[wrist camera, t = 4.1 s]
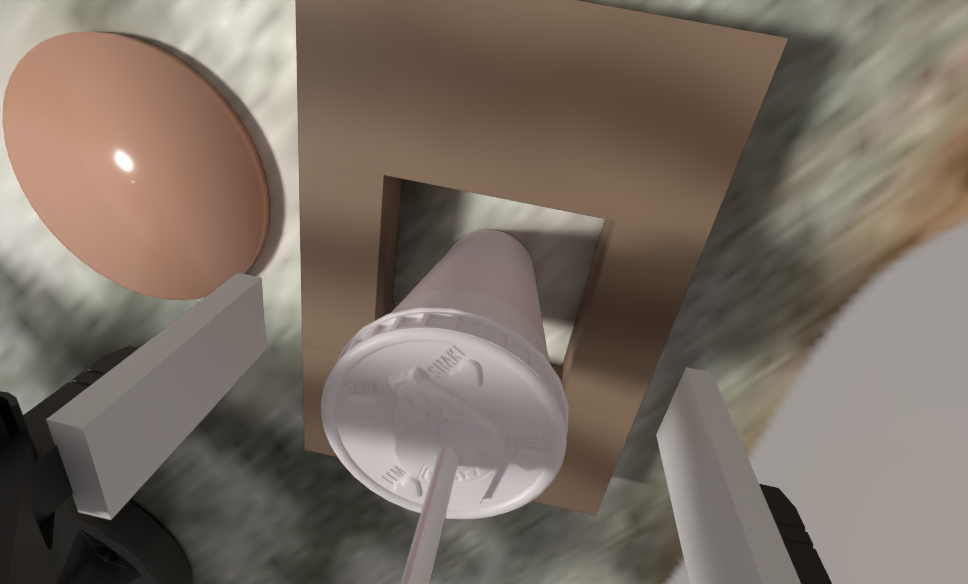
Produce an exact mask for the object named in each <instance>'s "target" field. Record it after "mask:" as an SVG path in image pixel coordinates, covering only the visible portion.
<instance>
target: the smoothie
mask: <svg viewBox="0 0 968 584" xmlns="http://www.w3.org/2000/svg"><path fill="white" fill-rule="evenodd" d="M568 409H569V406H568V402H567V399H566V396H565V392H564V389H563V386H562V383H561V379H560V378H559V376H558V375H557V373H556V372H555V371H554V369H553V368H552V366H551V365H550V362H549V357H548V353H547V347H546V341H545V334H544V328H543V322H542V316H541V310H540V304H539V298H538V292H537V285H536V279H535V273H534V267H533V262H532V259H531V256H530V254H529V253H528V251H527V249H526V248H525V247H524V246H523V245H522V244H521V243H520V242H519V241H518V240H517V239H516V238H514V237H512V236H511V235H509V234H507V233H504V232H501V231H497V230H478V231H474V232H471V233H469V234H467V235H465V236H463V237H462V238H460V239H459V240H458V241H457V242H456V243H455V244H454V245H453V246H452V247H451V248H450V250H449V251H448V252H447V253H446V254H445V255H444V256H443V257H442V258H441V259H440V260H439V261H438V263H437V264H436V265H435V266H434V267H433V268H432V269H431V270H430V271H429V272H428V273H427V274H426V276H425V277H424V278H423V279H422V280H421V281H420V282H419V283H418V284H417V285H416V286H415V287H414V289H413V290H412V291H411V292H410V293H409V294H408V295H407V296H406V297H405V298H404V299H403V300H402V302H401V303H400V304H399V305H398V306H397V307H396V308H395V309H394V310H393V311H392V312H391V313H390V314H387V315H385V316H383V317H381V318H379V319H377V320H376V321H374V322H372V323H370V324H368V325H366V326H364V327H363V328H361V329H360V330H359V331H358V332H357V333H356V335H355V336H354V337H353V338H352V339H351V340H350V341H349V342H348V343H347V344H346V345H345V346H344V347H343V349H342V351H341V353H340V355H339V358H338V360H337V362H336V364H335V366H334V368H333V369H332V371H331V372H330V374H329V376H328V378H327V380H326V383H325V386H324V389H323V394H322V399H321V415H322V421H323V427H324V430H325V433H326V436H327V438H328V440H329V443H330V445H331V447H332V448H333V450H334V452H335V454H336V455H337V457H338V458H339V459H340V461H341V462H342V464H343V465H344V466H345V467H346V468H347V469H348V470H349V471H350V472H351V474H352V475H353V476H354V477H355V478H356V479H358V480H359V481H360V482H361V483H363V484H364V485H365V486H366V487H367V488H369V489H370V490H371V491H373V492H375V493H376V494H378V495H380V496H381V497H383V498H385V499H386V500H388V501H390V502H392V503H394V504H397V505H399V506H401V507H403V508H406V509H408V510H411V511H415V512H418V513H421V514H420V517H419V521H418V524H417V528H416V531H415V534H414V538H413V541H412V545H411V548H410V551H409V555H408V558H407V562H406V565H405V569H404V572H403V575H402V579H401V582H400V584H429V583H430V579H431V575H432V571H433V567H434V562H435V558H436V554H437V550H438V546H439V542H440V537H441V533H442V529H443V525H444V521H445V518H448V519H477V518H485V517H492V516H496V515H499V514H503V513H506V512H510V511H512V510H514V509H517V508H519V507H521V506H523V505H525V504H527V503H529V502H530V501H532V500H533V499H535V498H536V497H537V496H539V495H540V494H541V493H542V492H543V491H544V490H545V489H546V488H547V487H548V486H549V485H550V484H551V482H552V481H553V480H554V478H555V477H556V475H557V473H558V472H559V470H560V468H561V465H562V463H563V460H564V456H565V452H566V443H567V436H566V434H567V432H568Z"/></svg>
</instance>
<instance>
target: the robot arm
mask: <svg viewBox="0 0 968 584" xmlns="http://www.w3.org/2000/svg"><path fill="white" fill-rule="evenodd" d="M265 351H266V340H265V324H264V308H263V292H262V278H261V277H256V276H251V275H247V274H242V273H237V274H235V275H234V276H233V277H231V278H230V279H229V280H228V281H226V282H225V283H224V284H222V285H221V286H220V287H218V288H217V289H216V290H215V291H213V292H212V293H211V294H209V295H208V296H207V297H205V298H204V299H203V300H201V301H200V302H199V303H198V304H196V305H195V306H194V307H192V308H191V309H190V310H188V311H187V312H186V313H184V314H183V315H182V316H181V317H179V318H178V319H177V320H175V321H174V322H173V323H171V324H170V325H169V326H168V327H166V328H165V329H164V330H162V331H161V332H160V333H158V334H157V335H156V336H154V337H153V338H152V339H151V340H149V341H148V342H147V343H145V344H144V345H143V346H141V347H140V348H134V347H130V346H127V347H125V348H123V349H120V350H118V351H115V352H113V353H111V354H108V355H106V356H104V357H103V358H101V359H100V360H99V361H97V362H96V363H94V364H93V365H92V366H90V367H89V368H88V369H87V371H86V372H82V373H81V374H79V375H78V376H77V377H75V378H74V379H72V382H71V383H69V382H68V383H67V384H66V385H64V386H63V387H61V388H60V389H59V390H57V391H56V392H55V393H53V394H52V395H50V396H49V397H48V398H46V399H45V400H44V401H42V402H41V403H39V404H38V405H37V406H35V407H34V408H32V409H31V410H30V411H28V412H27V413H26V414H24V415H23V414H22V411H21V409H20V406H19V403H18V401H17V398H16V397H15V396H13V395H11V394H10V393H8V392H1V391H0V584H191V574H190V569H189V566H188V563H187V561H186V559H185V557H184V555H183V553H182V551H181V550H180V548H179V547H178V545H177V544H176V543H175V541H174V540H173V539H172V538H171V536H170V535H169V534H168V533H167V532H166V531H165V530H164V529H163V528H162V527H161V526H160V525H159V524H158V523H157V522H156V521H155V520H153V519H152V518H151V517H150V516H149V515H147V514H146V513H145V512H144V511H142V510H141V509H140V508H138V507H137V506H135V505H134V504H132V503H131V502H129V500H130V499H131V498H132V497H133V495H134V494H135V493H136V492H137V491H138V490H139V489H140V488H141V487H142V486H143V484H144V483H145V482H146V481H147V480H148V479H149V478H150V477H151V476H152V475H153V473H154V472H155V471H156V470H157V469H158V468H159V467H160V466H161V465H162V464H163V463H164V461H165V460H166V459H167V458H168V457H169V456H170V455H171V454H172V453H173V452H174V450H175V449H176V448H177V447H178V446H179V445H180V444H181V443H182V442H183V441H184V439H185V438H186V437H187V436H188V435H189V434H190V433H191V432H192V431H193V430H194V428H195V427H196V426H197V425H198V424H199V423H200V422H201V421H202V420H203V419H204V417H205V416H206V415H207V414H208V413H209V412H210V411H211V410H212V409H213V408H214V407H215V405H216V404H217V403H218V402H219V401H220V400H221V399H222V398H223V397H224V396H225V394H226V393H227V392H228V391H229V390H230V389H231V388H232V387H233V386H234V385H235V383H236V382H237V381H238V380H239V379H240V378H241V377H242V376H243V375H244V374H245V372H246V371H247V370H248V369H249V368H250V367H251V366H252V365H253V364H254V363H255V362H256V360H257V359H258V358H259V357H260V356H261V355H262V354H263V353H264V352H265ZM656 436H657V440H658V445H659V449H660V454H661V458H662V463H663V467H664V472H665V476H666V481H667V485H668V490H669V494H670V498H671V503H672V507H673V512H674V516H675V521H676V525H677V530H678V534H679V539H680V543H681V548H682V552H683V557H684V561H685V565H686V570H687V574H688V579H689V583H690V584H832V583H831V581H830V579H829V576H828V574H827V572H826V570H825V568H824V566H823V564H822V562H821V560H820V558H819V556H818V553H817V551H816V549H813V543H812V541H811V539H810V537H809V535H808V533H807V532H805V526H804V524H803V522H802V520H801V518H800V516H799V514H798V511H797V509H796V507H795V506H794V505H793V504H792V503H791V502H790V501H789V499H788V498H787V497H786V496H785V495H784V494H783V493H782V491H781V490H780V489H779V488H776V487H771V486H767V485H762V484H759V483H758V481H757V478H756V476H755V474H754V472H753V469H752V466H751V464H750V462H749V459H748V457H747V455H746V452H745V450H744V448H743V445H742V443H741V440H740V438H739V436H738V433H737V431H736V429H735V426H734V424H733V421H732V419H731V417H730V414H729V412H728V410H727V407H726V405H725V403H724V400H723V398H722V395H721V393H720V391H719V388H718V386H717V384H716V381H715V379H714V376H713V374H712V373H711V372H707V371H702V370H697V369H692V368H688V367H686V368H685V371H684V373H683V375H682V377H681V380H680V382H679V384H678V387H677V389H676V391H675V393H674V396H673V398H672V400H671V402H670V405H669V407H668V409H667V412H666V414H665V416H664V418H663V421H662V423H661V425H660V427H659V430H658V432H657V434H656Z"/></svg>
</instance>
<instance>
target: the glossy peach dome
mask: <svg viewBox="0 0 968 584" xmlns="http://www.w3.org/2000/svg"><path fill="white" fill-rule="evenodd" d="M3 129H4V138H5V143H6V147H7V151H8V156H9V159H10V162H11V164H12V167H13V170H14V173H15V175H16V177H17V180H18V182H19V184H20V186H21V188H22V190H23V192H24V194H25V195H26V197H27V199H28V201H29V202H30V204H31V206H32V207H33V209H34V210H35V211H36V213H37V214H38V216H39V217H40V219H41V220H42V221H43V223H44V224H45V225H46V226H47V227H48V229H49V230H50V231H51V232H52V233H53V235H54V236H55V237H56V238H57V239H58V240H59V241H60V242H61V243H62V244H63V245H64V246H65V247H66V248H67V249H68V250H69V251H70V252H72V253H73V254H74V255H75V256H76V257H77V258H79V259H80V260H81V261H82V262H84V263H85V264H86V265H88V266H89V267H90V268H92V269H93V270H95V271H96V272H98V273H99V274H101V275H103V276H104V277H106V278H108V279H109V280H111V281H113V282H115V283H117V284H119V285H121V286H123V287H125V288H128V289H130V290H133V291H136V292H138V293H141V294H145V295H149V296H152V297H157V298H163V299H170V300H189V299H198V298H202V297H206V296H208V295H209V294H211V293H212V292H213V291H215V290H216V289H217V288H218V287H220V286H221V285H222V284H224V283H225V282H226V281H228V280H229V279H230V278H231V277H233V276H234V275H235V274H237V273H242V274H245V273H246V272H247V271H248V270H249V269H250V268H251V266H252V265H253V264H254V262H255V261H256V260H257V258H258V256H259V254H260V252H261V250H262V248H263V246H264V243H265V239H266V236H267V232H268V226H269V220H270V202H269V193H268V186H267V181H266V177H265V173H264V169H263V166H262V164H261V161H260V158H259V155H258V153H257V150H256V148H255V146H254V144H253V142H252V140H251V138H250V136H249V134H248V132H247V131H246V129H245V127H244V126H243V124H242V123H241V121H240V119H239V118H238V116H237V115H236V113H235V112H234V111H233V110H232V108H231V107H230V106H229V104H228V103H227V102H226V100H225V99H224V98H223V97H222V96H221V95H220V94H219V93H218V92H217V91H216V90H215V88H214V87H213V86H212V85H211V84H210V83H209V82H208V81H207V80H205V79H204V78H203V77H202V76H201V75H200V74H198V73H197V72H196V71H195V70H194V69H193V68H191V67H190V66H188V65H187V64H186V63H184V62H183V61H181V60H180V59H178V58H177V57H176V56H174V55H172V54H170V53H168V52H167V51H165V50H163V49H161V48H159V47H158V46H155V45H153V44H150V43H148V42H145V41H143V40H140V39H138V38H134V37H130V36H126V35H123V34H118V33H109V32H76V33H68V34H63V35H59V36H55V37H52V38H50V39H48V40H46V41H43V42H41V43H40V44H38V45H37V46H35V47H34V48H33V49H31V50H30V51H29V52H28V53H27V54H26V55H25V56H24V57H23V58H22V59H21V60H20V62H19V63H18V64H17V66H16V68H15V69H14V71H13V73H12V75H11V77H10V79H9V82H8V85H7V88H6V91H5V97H4V103H3Z"/></svg>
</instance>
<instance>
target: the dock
mask: <svg viewBox="0 0 968 584" xmlns="http://www.w3.org/2000/svg"><path fill="white" fill-rule="evenodd" d="M787 40H788V38H784V37H779V36H773V35H767V34H762V33H756V32H751V31H745V30H739V29H734V28H728V27H723V26H717V25H711V24H706V23H700V22H695V21H689V20H684V19H678V18H672V17H667V16H661V15H656V14H650V13H644V12H639V11H633V10H628V9H622V8H616V7H611V6H605V5H600V4H594V3H589V2H583V1H577V0H296V50H297V100H298V151H299V201H300V252H301V303H302V353H303V404H304V450H308V451H312V452H317V453H321V454H326V455H330V456H334V457H337V455H336V454H335V452H334V450H333V448H332V447H331V445H330V443H329V440H328V438H327V436H326V433H325V430H324V427H323V421H322V415H321V399H322V394H323V389H324V386H325V383H326V380H327V378H328V376H329V374H330V372H331V371H332V369H333V368H334V366H335V364H336V362H337V360H338V358H339V355H340V353H341V351H342V349H343V347H344V346H345V345H346V344H347V343H348V342H349V341H350V340H351V339H352V338H353V337H354V336H355V335H356V333H357V332H358V331H359V330H360V329H361V328H363V327H364V326H366V325H368V324H370V323H372V322H374V321H376V320H377V319H379V318H381V317H383V316H385V315H387V314H390V313H391V311H392V299H393V286H394V274H395V262H396V249H397V237H398V225H399V212H400V200H401V188H402V179H407V180H412V181H417V182H422V183H427V184H432V185H437V186H442V187H447V188H452V189H457V190H462V191H467V192H472V193H477V194H482V195H487V196H492V197H497V198H502V199H507V200H512V201H517V202H522V203H527V204H533V205H538V206H543V207H548V208H553V209H558V210H563V211H568V212H573V213H578V214H583V215H588V216H593V217H598V218H603V219H605V221H604V224H603V228H602V231H601V234H600V238H599V241H598V245H597V248H596V252H595V255H594V258H593V262H592V265H591V269H590V272H589V276H588V279H587V283H586V286H585V289H584V293H583V296H582V300H581V303H580V307H579V310H578V313H577V317H576V320H575V324H574V327H573V331H572V334H571V338H570V341H569V344H568V348H567V351H566V355H565V358H564V362H563V365H562V367H559V366H554V365H551V366H552V368H553V369H554V371H555V372H556V373H557V375H558V376H559V378H560V379H561V383H562V386H563V389H564V392H565V396H566V399H567V402H568V406H569V409H568V432H567V434H566V436H567V443H566V452H565V456H564V460H563V463H562V465H561V468H560V470H559V472H558V473H557V475H556V477H555V478H554V480H553V481H552V482H551V484H550V485H549V486H548V487H547V488H546V489H545V490H544V491H543V492H542V493H541V494H540V495H539V496H537V497H536V498H535V499H533V500H532V501H533V502H538V503H542V504H547V505H551V506H555V507H560V508H564V509H569V510H573V511H578V512H582V513H586V514H591V515H595V516H596V514H597V511H598V509H599V506H600V504H601V501H602V499H603V496H604V494H605V491H606V489H607V487H608V484H609V482H610V479H611V477H612V474H613V472H614V469H615V467H616V464H617V462H618V459H619V457H620V454H621V452H622V449H623V447H624V444H625V442H626V439H627V437H628V434H629V432H630V429H631V427H632V425H633V422H634V420H635V417H636V415H637V412H638V410H639V407H640V405H641V402H642V400H643V397H644V395H645V392H646V390H647V387H648V385H649V382H650V380H651V377H652V375H653V372H654V370H655V368H656V365H657V363H658V360H659V358H660V355H661V353H662V350H663V348H664V345H665V343H666V340H667V338H668V335H669V333H670V330H671V328H672V325H673V323H674V320H675V318H676V315H677V313H678V310H679V308H680V306H681V303H682V301H683V298H684V296H685V293H686V291H687V288H688V286H689V283H690V281H691V278H692V276H693V273H694V271H695V268H696V266H697V263H698V261H699V258H700V256H701V253H702V251H703V249H704V246H705V244H706V241H707V239H708V236H709V234H710V231H711V229H712V226H713V224H714V221H715V219H716V216H717V214H718V211H719V209H720V206H721V204H722V201H723V199H724V196H725V194H726V191H727V189H728V187H729V184H730V182H731V179H732V177H733V174H734V172H735V169H736V167H737V164H738V162H739V159H740V157H741V154H742V152H743V149H744V147H745V144H746V142H747V139H748V137H749V134H750V132H751V129H752V127H753V125H754V122H755V120H756V117H757V115H758V112H759V110H760V107H761V105H762V102H763V100H764V97H765V95H766V92H767V90H768V87H769V85H770V82H771V80H772V77H773V75H774V72H775V70H776V68H777V65H778V63H779V60H780V58H781V55H782V53H783V50H784V48H785V45H786V43H787Z"/></svg>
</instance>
